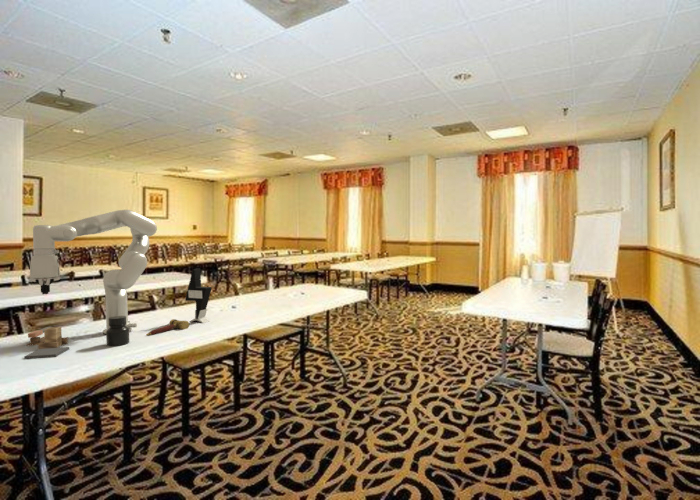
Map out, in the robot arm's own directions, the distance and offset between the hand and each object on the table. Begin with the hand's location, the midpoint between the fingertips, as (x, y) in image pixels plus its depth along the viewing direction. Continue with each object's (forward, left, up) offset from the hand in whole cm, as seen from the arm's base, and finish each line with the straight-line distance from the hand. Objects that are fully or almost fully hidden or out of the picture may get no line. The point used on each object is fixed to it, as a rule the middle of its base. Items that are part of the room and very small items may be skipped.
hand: (45, 293), depth 174 cm
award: (-59, -35, -23) cm, 72 cm away
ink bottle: (-31, +6, -23) cm, 39 cm away
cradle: (-4, +3, -23) cm, 23 cm away
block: (-4, +3, -23) cm, 24 cm away
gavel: (-46, -15, -24) cm, 54 cm away
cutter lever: (+6, -8, -19) cm, 22 cm away
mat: (-8, +16, -23) cm, 29 cm away
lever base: (+6, -10, -23) cm, 26 cm away
